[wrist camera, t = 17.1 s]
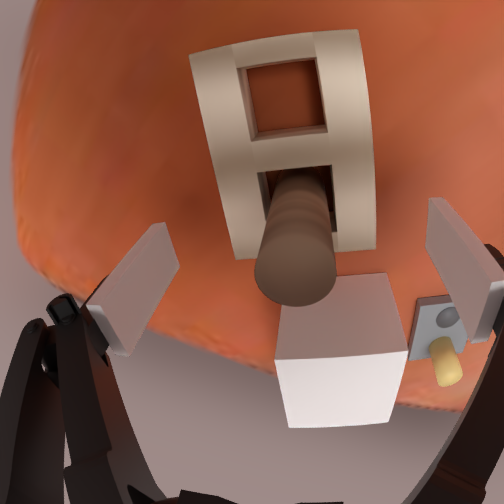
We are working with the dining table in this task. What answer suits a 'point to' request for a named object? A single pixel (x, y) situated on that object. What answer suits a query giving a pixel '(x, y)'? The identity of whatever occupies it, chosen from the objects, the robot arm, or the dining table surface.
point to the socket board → (290, 134)
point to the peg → (297, 241)
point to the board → (438, 337)
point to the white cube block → (342, 355)
